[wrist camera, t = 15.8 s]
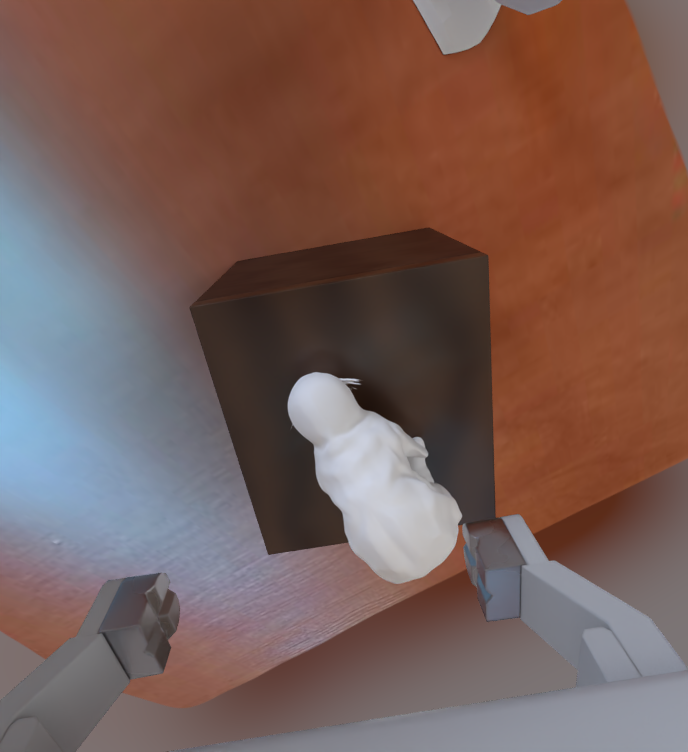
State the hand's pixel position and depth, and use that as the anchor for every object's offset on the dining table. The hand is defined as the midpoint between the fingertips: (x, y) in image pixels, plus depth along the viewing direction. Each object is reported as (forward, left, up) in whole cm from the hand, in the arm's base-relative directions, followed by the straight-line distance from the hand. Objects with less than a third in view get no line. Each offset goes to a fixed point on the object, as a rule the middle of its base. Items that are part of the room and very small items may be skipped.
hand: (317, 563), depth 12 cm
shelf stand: (+2, -6, -31) cm, 31 cm away
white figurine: (+1, -6, -16) cm, 17 cm away
